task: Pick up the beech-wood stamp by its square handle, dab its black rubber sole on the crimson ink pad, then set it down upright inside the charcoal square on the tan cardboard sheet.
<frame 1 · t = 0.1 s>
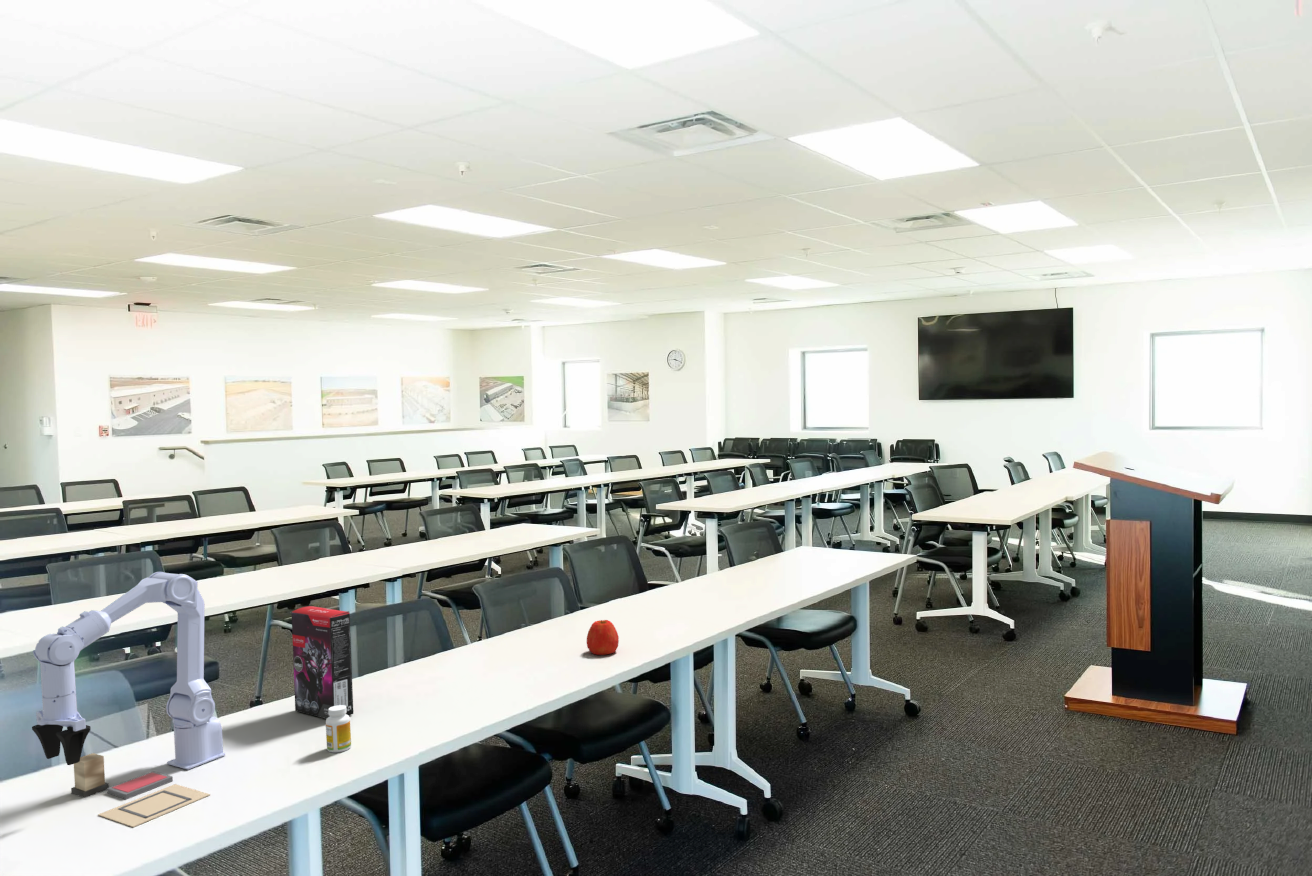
hand: (63, 760, 182), 10 cm above the table, fingers open, 7 cm apart
graphics card box: (324, 714, 237), on the table
cardboard sheet: (155, 805, 183), on the table
supplement bottle: (339, 749, 211), on the table
apple: (603, 653, 287), on the table
ink pad: (140, 786, 192), on the table
stamp: (90, 791, 191), on the table
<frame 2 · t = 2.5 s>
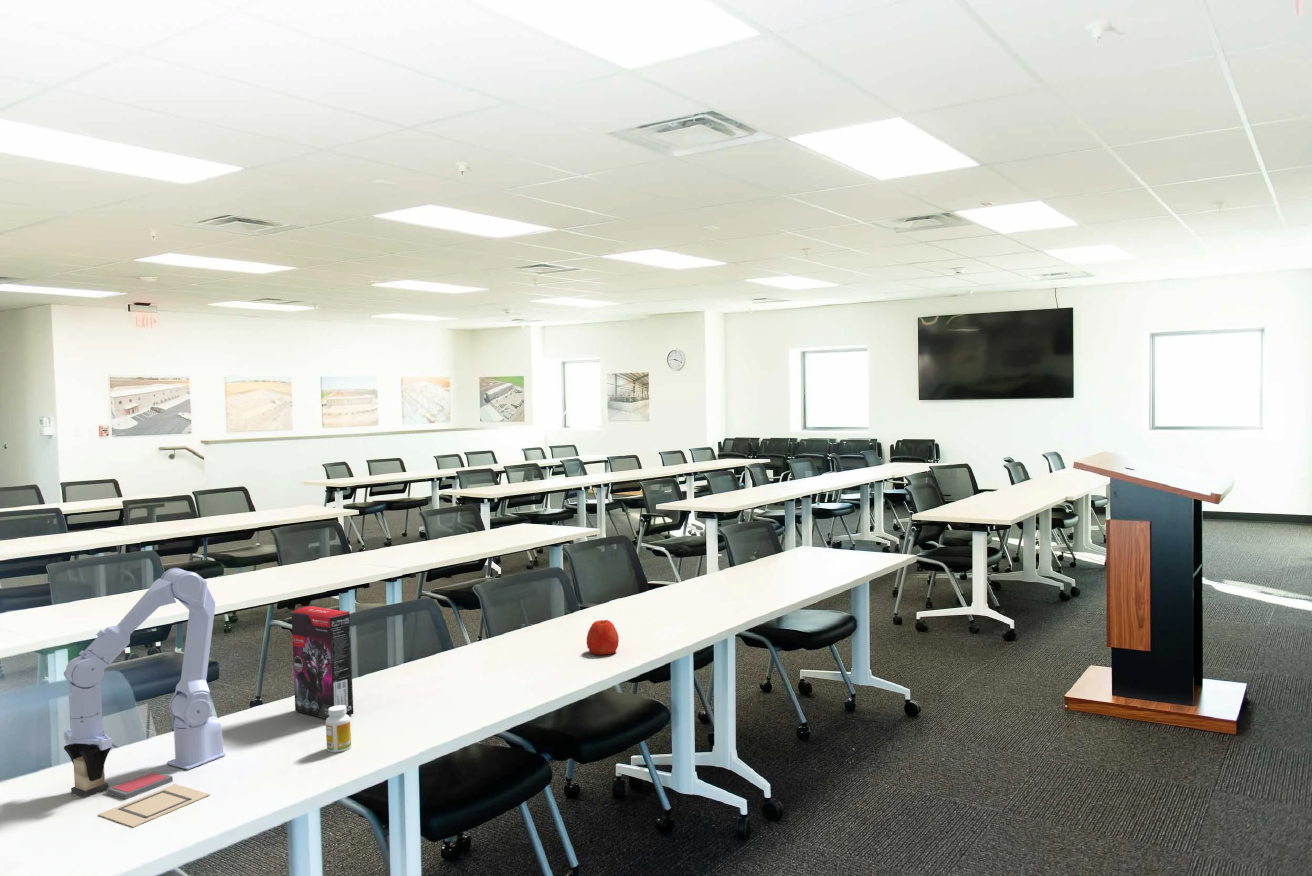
hand: (89, 777, 191), 3 cm above the table, fingers closed on stamp, 4 cm apart
stamp: (90, 791, 191), on the table, touching gripper
everything else where it was.
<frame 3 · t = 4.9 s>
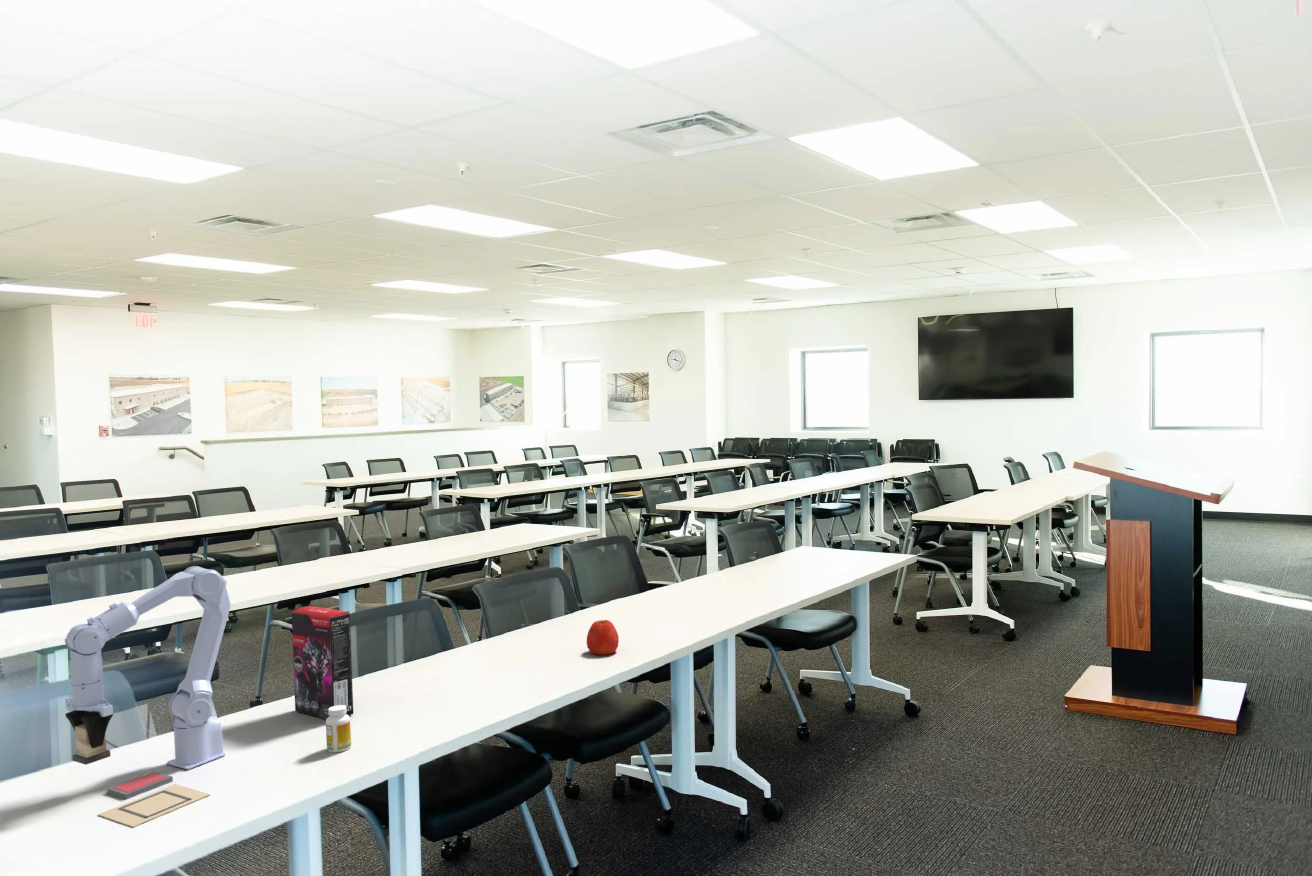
hand: (91, 744, 191), 10 cm above the table, fingers closed on stamp, 4 cm apart
stamp: (91, 758, 191), point 7 cm above the table, touching gripper
everything else where it was.
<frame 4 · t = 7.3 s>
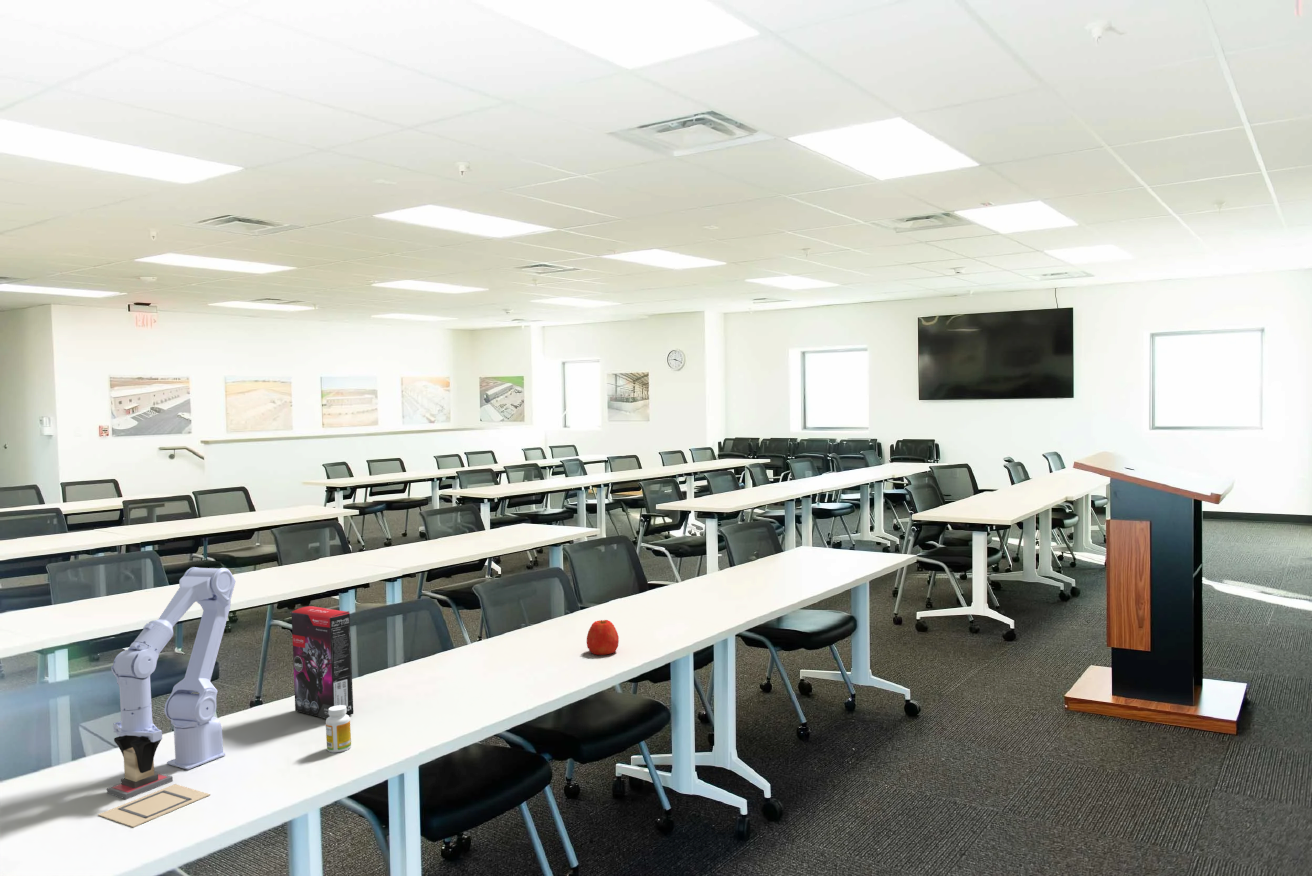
hand: (139, 769, 192), 4 cm above the table, fingers closed on stamp, 4 cm apart
stamp: (139, 782, 192), point 1 cm above the table, touching gripper, ink pad
everything else where it was.
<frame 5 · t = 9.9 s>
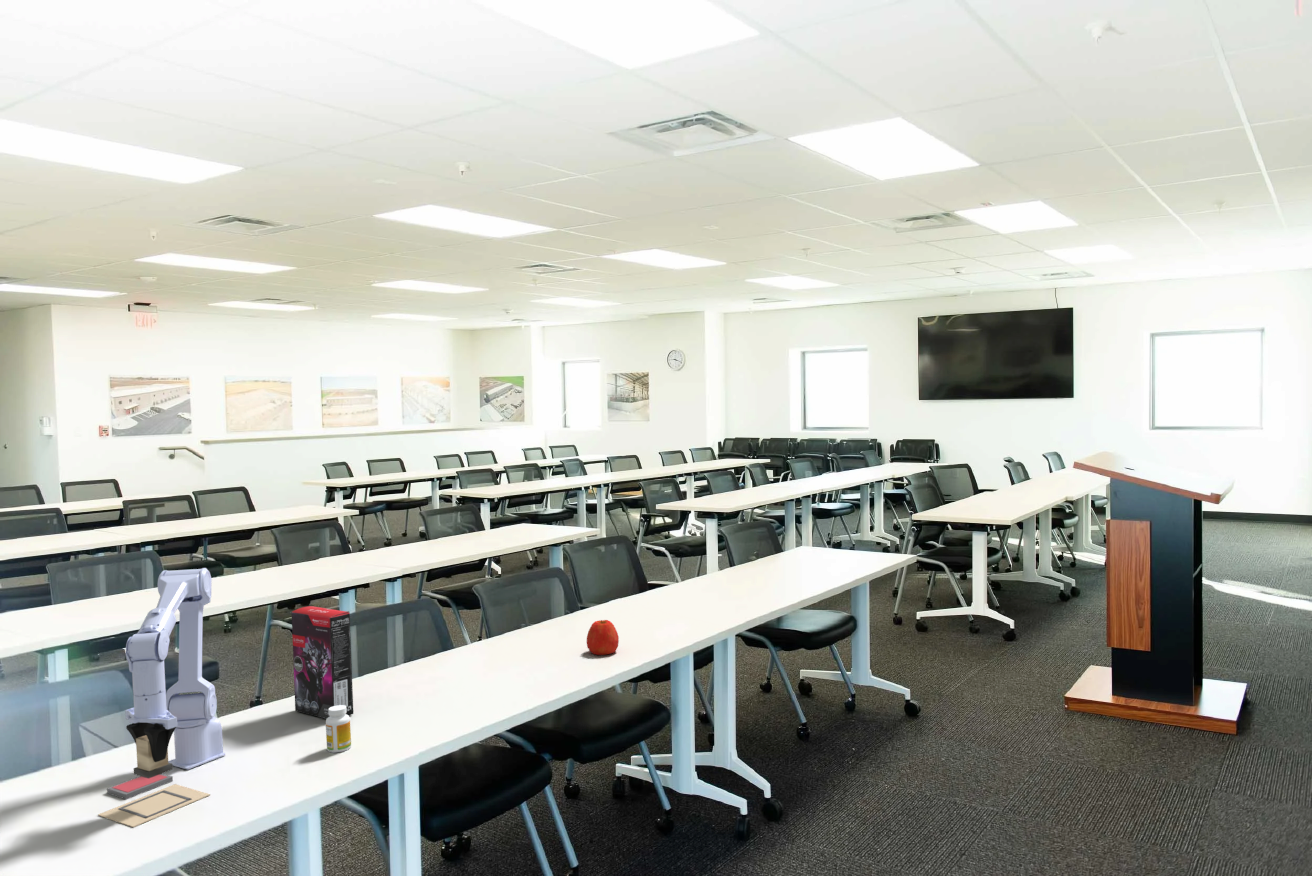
hand: (153, 758, 183), 10 cm above the table, fingers closed on stamp, 4 cm apart
stamp: (153, 771, 183), point 7 cm above the table, touching gripper
everything else where it was.
when the fingers open (4 cm above the table, at t = 12.1 s): stamp drops 1 cm, resting on cardboard sheet.
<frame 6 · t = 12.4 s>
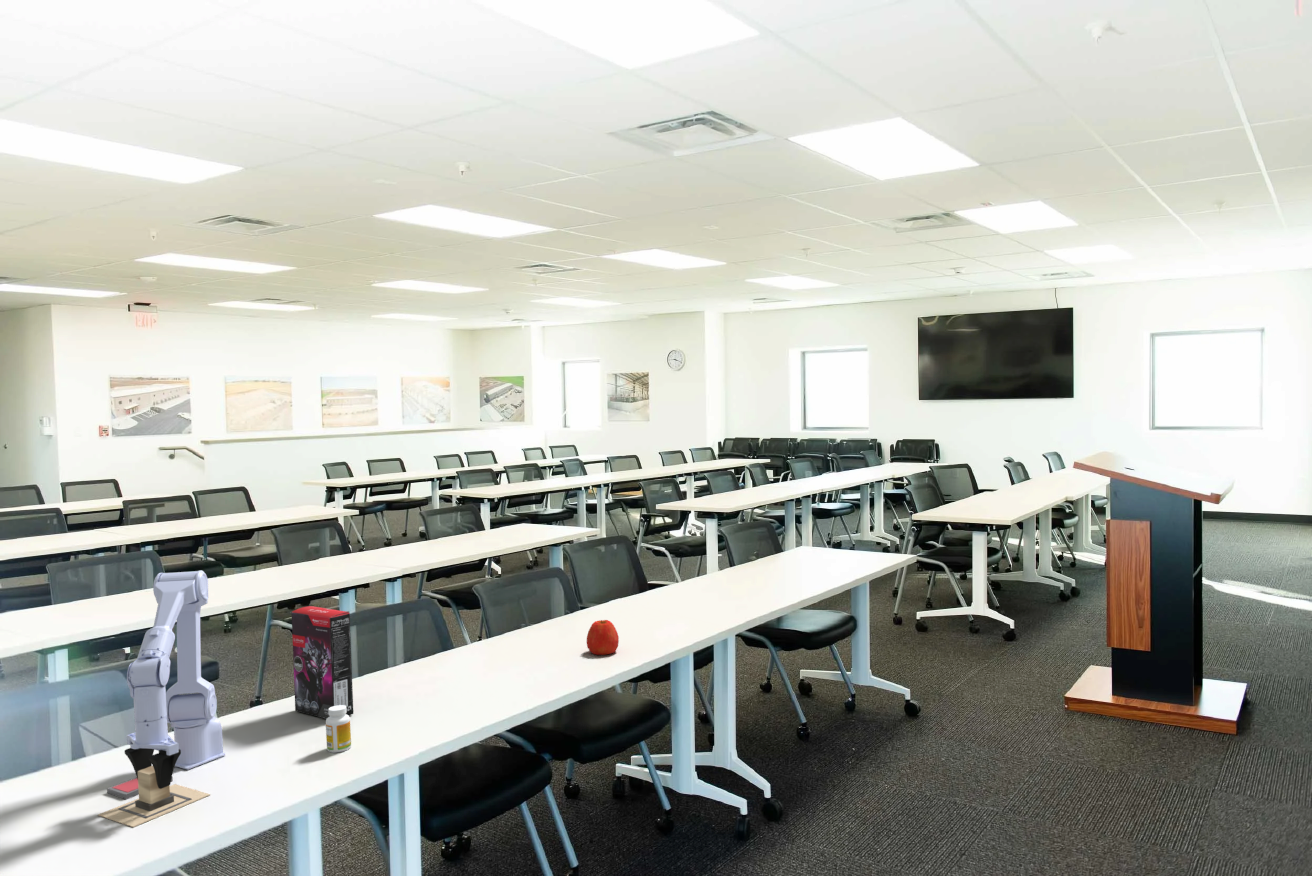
hand: (154, 783, 183), 4 cm above the table, fingers open, 6 cm apart
stamp: (154, 804, 183), resting on cardboard sheet
everything else where it was.
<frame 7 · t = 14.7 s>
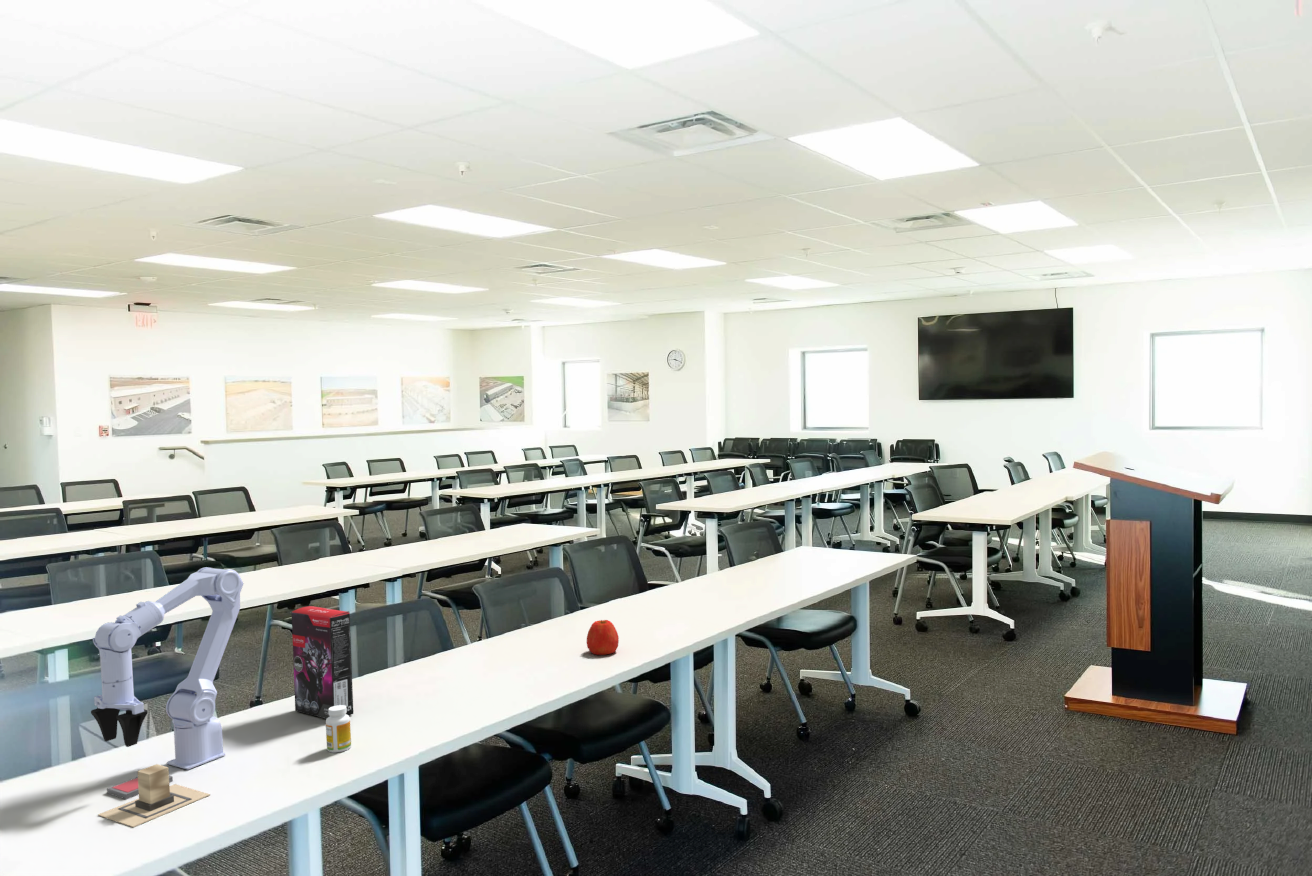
hand: (120, 742, 192), 10 cm above the table, fingers open, 7 cm apart
nothing on the table moved.
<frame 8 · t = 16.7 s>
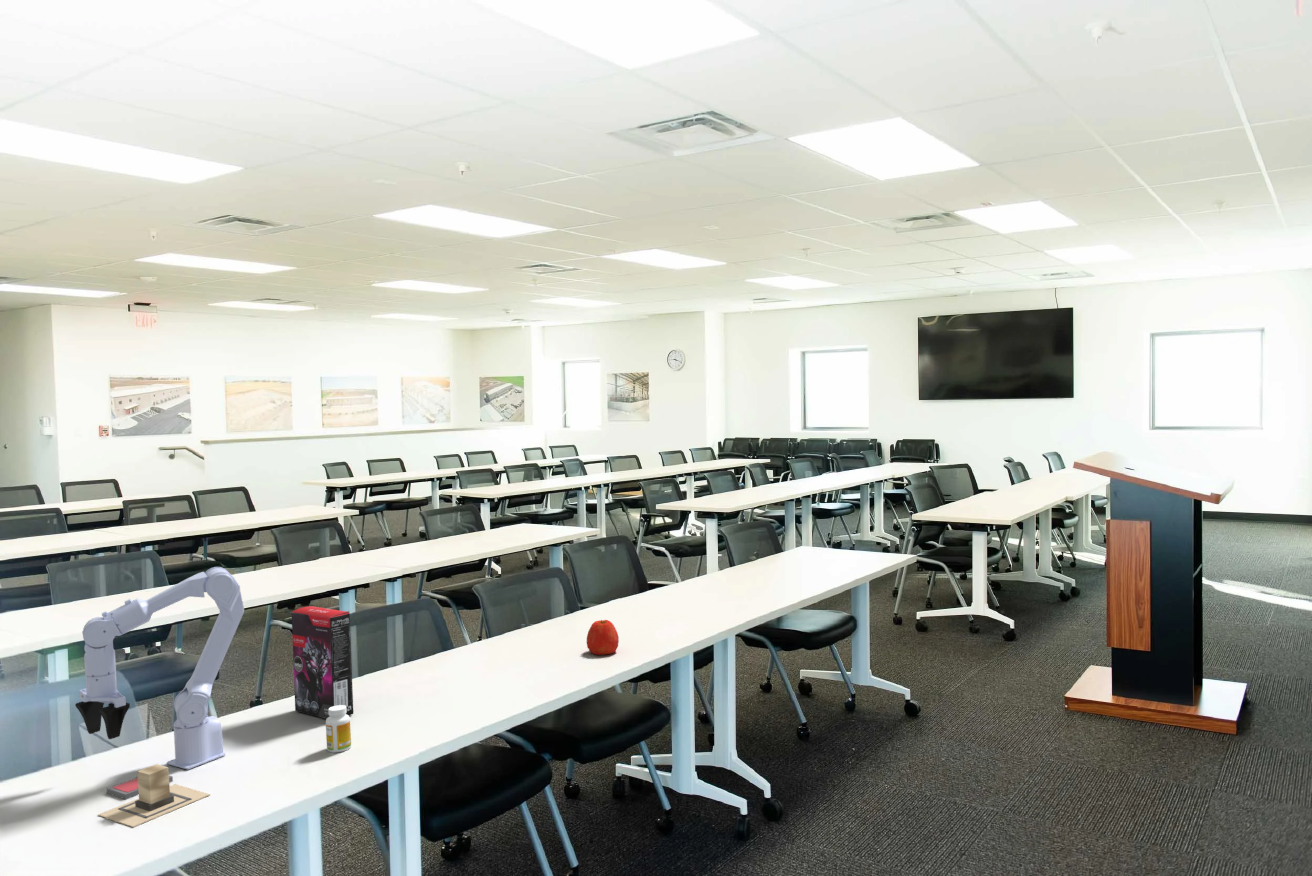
hand: (104, 734, 197), 10 cm above the table, fingers open, 7 cm apart
nothing on the table moved.
at the end: stamp 0.1 cm off-centre on the cardboard sheet, point 0.2 cm above the cardboard sheet's base; stamp tilted 0°; the gripper is holding nothing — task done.
